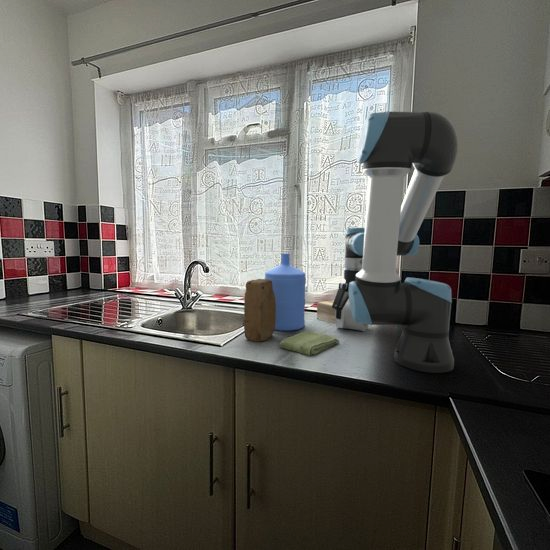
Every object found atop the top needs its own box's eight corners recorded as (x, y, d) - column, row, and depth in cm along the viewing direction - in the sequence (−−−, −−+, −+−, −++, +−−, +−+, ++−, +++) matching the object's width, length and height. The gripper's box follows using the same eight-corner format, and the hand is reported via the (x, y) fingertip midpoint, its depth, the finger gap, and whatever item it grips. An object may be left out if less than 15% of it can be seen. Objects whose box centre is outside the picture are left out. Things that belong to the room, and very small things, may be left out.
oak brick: (339, 325, 133) (340, 307, 132) (316, 318, 144) (317, 302, 143) (360, 320, 141) (361, 304, 140) (337, 314, 151) (338, 299, 150)
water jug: (311, 329, 125) (313, 254, 122) (272, 333, 119) (273, 254, 116) (294, 319, 139) (295, 252, 136) (258, 322, 134) (259, 252, 131)
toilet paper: (369, 328, 129) (370, 302, 128) (360, 334, 120) (361, 306, 119) (344, 324, 134) (345, 299, 133) (334, 329, 126) (335, 303, 125)
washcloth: (341, 344, 109) (341, 334, 109) (311, 358, 96) (312, 348, 95) (307, 336, 117) (307, 327, 117) (276, 348, 104) (276, 338, 103)
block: (259, 344, 107) (259, 282, 105) (241, 339, 111) (241, 280, 109) (278, 336, 116) (279, 279, 113) (261, 332, 120) (262, 277, 118)
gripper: (338, 271, 114) (336, 332, 117) (383, 268, 129) (380, 322, 131) (323, 269, 120) (321, 327, 123) (367, 267, 135) (365, 318, 137)
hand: (352, 324), depth 127 cm, fingers open, 13 cm apart
